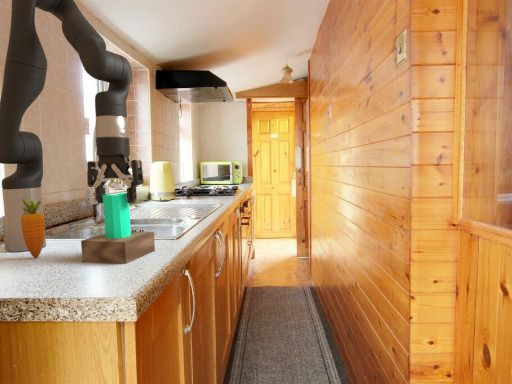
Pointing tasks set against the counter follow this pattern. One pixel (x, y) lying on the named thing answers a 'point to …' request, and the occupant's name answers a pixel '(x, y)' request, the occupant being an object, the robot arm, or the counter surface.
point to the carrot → (33, 228)
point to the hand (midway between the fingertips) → (116, 203)
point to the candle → (116, 216)
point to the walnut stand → (117, 248)
